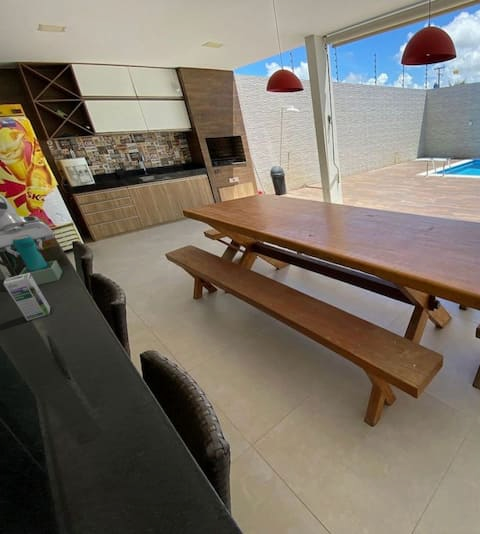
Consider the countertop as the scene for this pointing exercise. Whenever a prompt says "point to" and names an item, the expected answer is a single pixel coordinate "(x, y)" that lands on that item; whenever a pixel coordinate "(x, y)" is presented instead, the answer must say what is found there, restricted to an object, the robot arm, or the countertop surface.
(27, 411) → the countertop surface
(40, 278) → the bin
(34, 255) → the teal tall block
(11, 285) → the syrup box
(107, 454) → the countertop surface
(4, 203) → the robot arm
